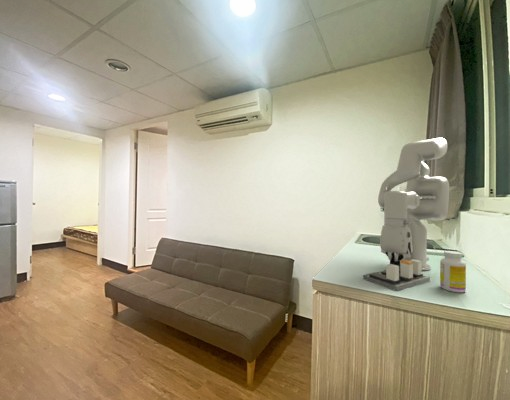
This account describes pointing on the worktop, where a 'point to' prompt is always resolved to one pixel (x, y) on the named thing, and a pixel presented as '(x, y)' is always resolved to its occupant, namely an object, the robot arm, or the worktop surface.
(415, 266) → the block
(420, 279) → the panel
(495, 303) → the worktop surface
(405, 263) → the block
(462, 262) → the supplement bottle
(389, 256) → the robot arm
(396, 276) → the block
